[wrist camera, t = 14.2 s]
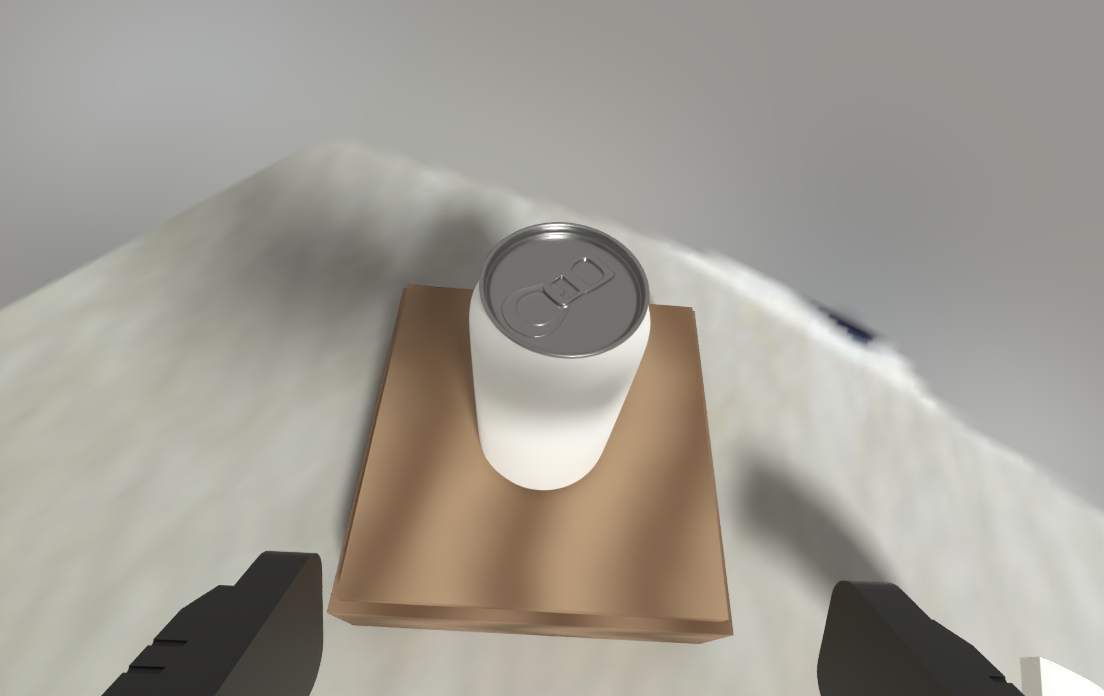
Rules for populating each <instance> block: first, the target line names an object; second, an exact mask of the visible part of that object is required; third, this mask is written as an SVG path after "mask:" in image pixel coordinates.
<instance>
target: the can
mask: <svg viewBox="0 0 1104 696" xmlns="http://www.w3.org/2000/svg"><path fill="white" fill-rule="evenodd" d="M648 305H649V285H648V281H647V277H646V275H645V272H644V270H643V268H642V266H641V264H640V263H639V261H638V260H637V258H636V257H635V256H634V255H633V254H632V253H631V251H630V250H629V249H628V248H626V247H625V246H624V245H623V244H622V243H620V242H619V241H618V240H616V239H615V238H613V237H611V236H610V235H608V234H606V233H604V232H602V231H599V230H597V229H594V228H591V227H588V226H584V225H580V224H574V223H564V222H552V223H542V224H537V225H533V226H529V227H526V228H523V229H521V230H518V231H516V232H514V233H512V234H511V235H509V236H507V237H506V238H505V239H503V240H502V241H501V242H500V243H498V244H497V245H496V246H495V247H494V248H493V250H492V251H491V252H490V254H489V255H488V257H487V258H486V260H485V262H484V264H483V267H482V270H481V273H480V279H479V281H478V283H477V285H476V287H475V289H474V292H473V295H472V298H471V303H470V311H469V329H470V344H471V356H472V368H473V380H474V391H475V402H476V413H477V423H478V432H479V439H480V443H481V447H482V450H483V453H484V455H485V457H486V459H487V460H488V462H489V463H490V464H491V466H492V467H493V468H494V469H495V470H496V471H497V472H498V473H500V474H501V475H502V476H504V477H505V478H506V479H508V480H509V481H511V482H513V483H515V484H517V485H519V486H522V487H525V488H529V489H534V490H554V489H559V488H563V487H566V486H568V485H571V484H573V483H575V482H577V481H578V480H580V479H581V478H583V477H584V476H585V475H586V474H588V473H589V472H590V471H591V469H592V468H593V467H594V466H595V464H596V463H597V461H598V460H599V458H600V456H601V454H602V452H603V450H604V448H605V445H606V443H607V441H608V439H609V436H610V434H611V432H612V429H613V427H614V425H615V422H616V420H617V417H618V415H619V413H620V410H621V408H622V406H623V403H624V401H625V398H626V396H627V394H628V391H629V389H630V386H631V384H632V381H633V379H634V377H635V374H636V372H637V369H638V367H639V364H640V362H641V359H642V357H643V354H644V351H645V348H646V345H647V342H648V338H649V333H650V312H649V307H648Z"/></svg>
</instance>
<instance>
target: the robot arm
mask: <svg viewBox="0 0 1104 696" xmlns="http://www.w3.org/2000/svg"><path fill="white" fill-rule="evenodd" d="M322 650H323V599H322V563H321V559H320V556H319V555H318V554H317V553H300V552H279V551H265V552H263V553H262V554H261V555H260V556H259V557H258V558H257V559H256V560H255V561H254V562H253V564H252V565H251V566H250V567H249V568H248V570H247V571H246V572H245V573H244V574H243V576H242V577H241V578H240V579H239V580H238V582H237V583H236V584H235V585H234V586H226V585H218V586H217V587H215V588H214V589H212V590H211V591H209V592H207V593H206V594H204V595H203V596H201V597H200V598H198V599H196V600H195V601H193V602H192V603H190V604H189V605H187V606H186V607H184V608H182V609H181V610H180V611H179V612H178V613H177V614H176V616H175V617H174V618H173V619H172V620H171V621H170V622H169V623H168V624H167V625H166V626H165V627H164V629H163V630H162V631H161V632H160V633H159V634H158V635H157V636H156V637H155V638H154V641H153V644H152V645H151V646H149V645H148V646H147V647H146V648H145V649H144V650H143V651H142V652H141V653H140V654H139V656H138V657H137V658H136V659H135V660H134V661H133V662H132V663H131V664H130V665H129V669H128V671H127V673H122V674H121V675H120V676H119V677H118V678H117V679H116V680H115V682H114V683H113V684H112V685H111V686H110V687H109V688H108V689H107V690H106V691H105V692H104V693H103V695H102V696H309V695H310V693H311V691H312V688H313V686H314V683H315V681H316V677H317V674H318V671H319V667H320V662H321V657H322ZM817 678H818V685H819V690H820V694H821V696H1025V695H1024V694H1023V693H1021V692H1020V691H1019V690H1018V689H1017V688H1016V687H1015V686H1014V685H1013V684H1012V683H1007V682H1006V680H1005V676H1004V675H1003V674H1002V673H1001V672H1000V671H999V670H998V669H997V668H996V667H994V666H993V665H992V664H991V663H990V662H989V661H988V660H987V659H986V658H985V657H984V656H983V655H982V654H981V653H980V652H979V651H978V650H977V649H976V648H975V647H974V646H973V645H971V644H969V643H968V642H966V641H965V640H963V639H962V638H960V637H959V636H957V635H956V634H954V633H953V632H951V631H950V630H948V629H947V628H945V627H944V626H942V625H941V624H939V623H938V622H936V621H934V620H931V619H930V618H929V617H928V616H927V615H926V614H925V613H924V612H923V611H922V610H921V609H920V608H919V607H918V606H917V605H916V604H915V603H914V602H913V601H912V600H911V599H910V598H909V597H908V596H907V595H906V594H905V593H904V592H903V591H902V590H901V589H900V588H899V587H898V586H896V585H894V584H892V583H884V582H864V581H840V582H838V583H837V584H836V586H835V587H834V589H833V592H832V596H831V601H830V606H829V610H828V615H827V620H826V625H825V629H824V634H823V639H822V644H821V649H820V653H819V658H818V664H817Z"/></svg>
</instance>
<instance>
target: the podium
mask: <svg viewBox="0 0 1104 696" xmlns="http://www.w3.org/2000/svg"><path fill="white" fill-rule="evenodd" d="M473 292H474V290H468V289H456V288H443V287H431V286H419V285H408V288H404V289H403V294H402V298H401V302H400V306H399V310H398V315H397V319H396V323H395V327H394V332H393V336H392V340H391V344H390V348H389V353H388V357H387V361H386V365H385V370H384V374H383V378H382V382H381V386H380V391H379V395H378V399H377V403H376V408H375V412H374V416H373V420H372V424H371V429H370V433H369V437H368V441H367V445H366V450H365V454H364V458H363V462H362V467H361V471H360V475H359V479H358V483H357V488H356V492H355V496H354V500H353V505H352V509H351V513H350V517H349V521H348V526H347V530H346V534H345V538H344V543H343V547H342V551H341V555H340V559H339V564H338V568H337V572H336V576H335V581H334V585H333V589H332V593H331V597H330V602H329V606H328V610H327V613H329V614H331V615H333V616H335V617H337V618H339V619H341V620H344V621H346V622H348V623H350V624H352V625H361V626H380V627H398V628H417V629H435V630H454V631H472V632H490V633H509V634H527V635H546V636H564V637H583V638H601V639H620V640H638V641H657V642H675V643H694V644H701V643H705V642H709V641H712V640H716V639H720V638H724V637H728V636H731V635H733V627H732V618H731V610H730V602H729V594H728V585H727V577H726V569H725V560H724V552H723V544H722V535H721V527H720V519H719V510H718V502H717V494H716V485H715V477H714V469H713V461H712V452H711V444H710V436H709V427H708V419H707V411H706V402H705V394H704V386H703V377H702V369H701V361H700V353H699V344H698V336H697V328H696V319H695V311H692V307H681V306H668V305H656V304H649V305H648V307H649V312H650V333H649V338H648V342H647V345H646V348H645V351H644V354H643V357H642V359H641V362H640V364H639V367H638V369H637V372H636V374H635V377H634V379H633V381H632V384H631V386H630V389H629V391H628V394H627V396H626V398H625V401H624V403H623V406H622V408H621V410H620V413H619V415H618V417H617V420H616V422H615V425H614V427H613V429H612V432H611V434H610V436H609V439H608V441H607V443H606V445H605V448H604V450H603V452H602V454H601V456H600V458H599V460H598V461H597V463H596V464H595V466H594V467H593V468H592V469H591V471H590V472H589V473H588V474H586V475H585V476H584V477H583V478H581V479H580V480H578V481H577V482H575V483H573V484H571V485H568V486H566V487H563V488H559V489H554V490H534V489H529V488H525V487H522V486H519V485H517V484H515V483H513V482H511V481H509V480H508V479H506V478H505V477H504V476H502V475H501V474H500V473H498V472H497V471H496V470H495V469H494V468H493V467H492V466H491V464H490V463H489V462H488V460H487V459H486V457H485V455H484V453H483V450H482V447H481V443H480V439H479V432H478V423H477V413H476V402H475V391H474V380H473V368H472V356H471V344H470V329H469V311H470V303H471V298H472V295H473Z"/></svg>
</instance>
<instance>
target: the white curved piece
mask: <svg viewBox="0 0 1104 696" xmlns="http://www.w3.org/2000/svg"><path fill="white" fill-rule="evenodd" d="M1020 663H1021V679H1022V693H1023V694H1024V695H1025V696H1104V690H1103V689H1102V688H1100V687H1098V686H1097V685H1095V684H1094V683H1092V682H1091V681H1089V680H1087V679H1085V678H1083V677H1081V676H1080V675H1078V674H1076V673H1074V672H1072V671H1070V670H1068V669H1066V668H1064V667H1062V666H1060V665H1058V664H1055V663H1053V662H1051V661H1048V660H1046V659H1044V658H1042V657H1027V658H1020Z"/></svg>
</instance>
